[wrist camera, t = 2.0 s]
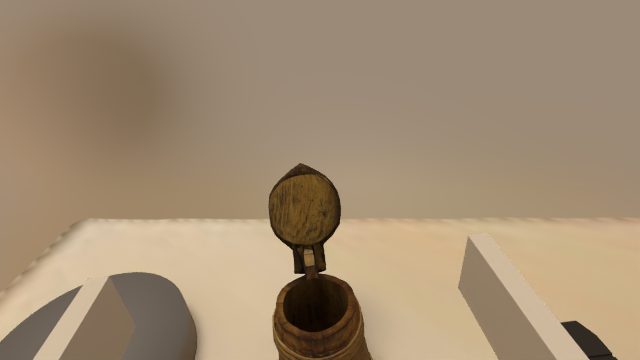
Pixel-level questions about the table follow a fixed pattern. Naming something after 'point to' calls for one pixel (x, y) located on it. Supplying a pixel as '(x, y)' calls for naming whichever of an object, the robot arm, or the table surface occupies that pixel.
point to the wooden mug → (313, 274)
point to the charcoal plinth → (145, 309)
